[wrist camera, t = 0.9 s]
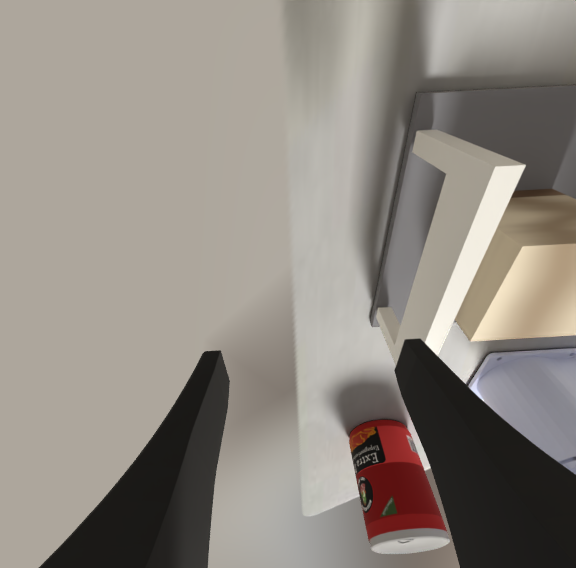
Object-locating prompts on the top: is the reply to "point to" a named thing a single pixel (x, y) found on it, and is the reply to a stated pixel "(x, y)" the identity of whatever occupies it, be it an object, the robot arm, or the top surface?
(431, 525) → the canned food
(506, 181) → the gate
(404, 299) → the rubber mat
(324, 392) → the top surface
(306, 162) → the top surface
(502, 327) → the birch cube
